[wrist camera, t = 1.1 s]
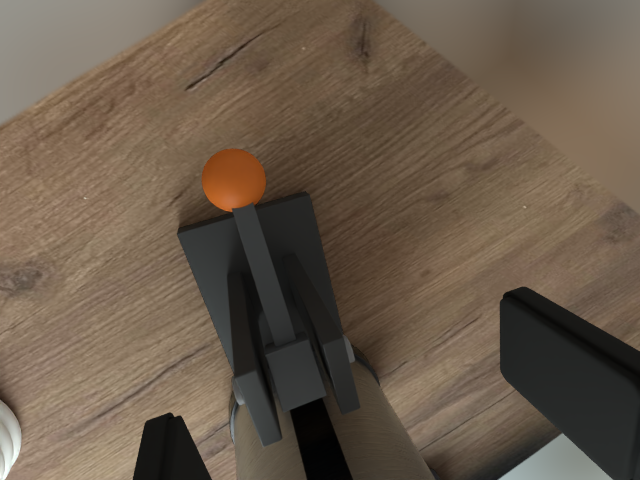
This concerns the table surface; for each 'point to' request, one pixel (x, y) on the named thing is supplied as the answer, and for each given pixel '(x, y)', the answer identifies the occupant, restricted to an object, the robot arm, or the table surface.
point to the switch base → (247, 311)
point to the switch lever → (264, 275)
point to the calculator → (435, 474)
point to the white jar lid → (8, 439)
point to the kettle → (330, 438)
